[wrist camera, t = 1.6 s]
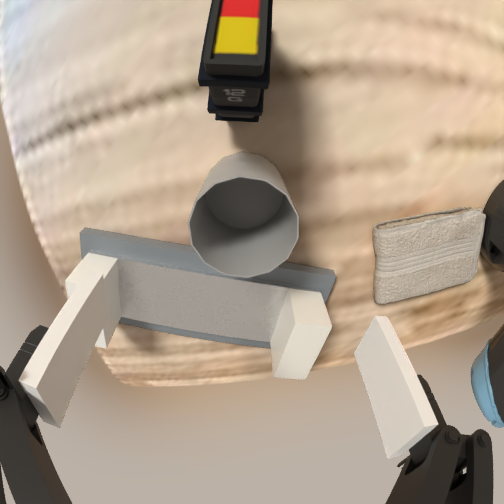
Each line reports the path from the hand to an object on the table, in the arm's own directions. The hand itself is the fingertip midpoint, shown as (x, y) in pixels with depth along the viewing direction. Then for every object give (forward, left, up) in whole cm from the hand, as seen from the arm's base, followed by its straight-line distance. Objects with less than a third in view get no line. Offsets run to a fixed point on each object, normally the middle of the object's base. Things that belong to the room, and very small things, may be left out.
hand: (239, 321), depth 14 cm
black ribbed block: (+3, -14, -20) cm, 25 cm away
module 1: (+15, +14, -18) cm, 27 cm away
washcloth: (-26, +2, -21) cm, 33 cm away
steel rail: (+3, +14, -19) cm, 24 cm away
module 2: (-9, +14, -18) cm, 24 cm away
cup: (0, 0, -20) cm, 20 cm away
